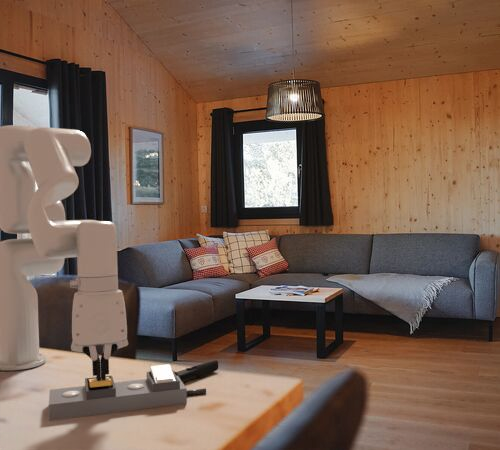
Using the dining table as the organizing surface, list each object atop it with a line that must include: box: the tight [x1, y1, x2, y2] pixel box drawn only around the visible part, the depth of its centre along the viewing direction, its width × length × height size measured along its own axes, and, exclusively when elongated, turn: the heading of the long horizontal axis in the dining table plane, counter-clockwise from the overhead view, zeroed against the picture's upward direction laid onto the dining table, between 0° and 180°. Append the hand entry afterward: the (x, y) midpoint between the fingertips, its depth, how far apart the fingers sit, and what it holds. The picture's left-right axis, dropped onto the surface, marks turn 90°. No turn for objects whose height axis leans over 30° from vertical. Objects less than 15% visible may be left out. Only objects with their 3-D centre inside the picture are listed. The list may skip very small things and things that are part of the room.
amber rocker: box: [89, 377, 112, 388], centre depth 112 cm, size 7×4×1 cm, turn 18°
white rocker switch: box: [149, 363, 176, 383], centre depth 116 cm, size 7×4×1 cm, turn 18°
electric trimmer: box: [173, 359, 219, 383], centre depth 129 cm, size 4×16×3 cm, turn 138°
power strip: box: [48, 368, 207, 421], centre depth 114 cm, size 9×31×5 cm, turn 108°
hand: (101, 378), depth 110 cm, fingers closed
